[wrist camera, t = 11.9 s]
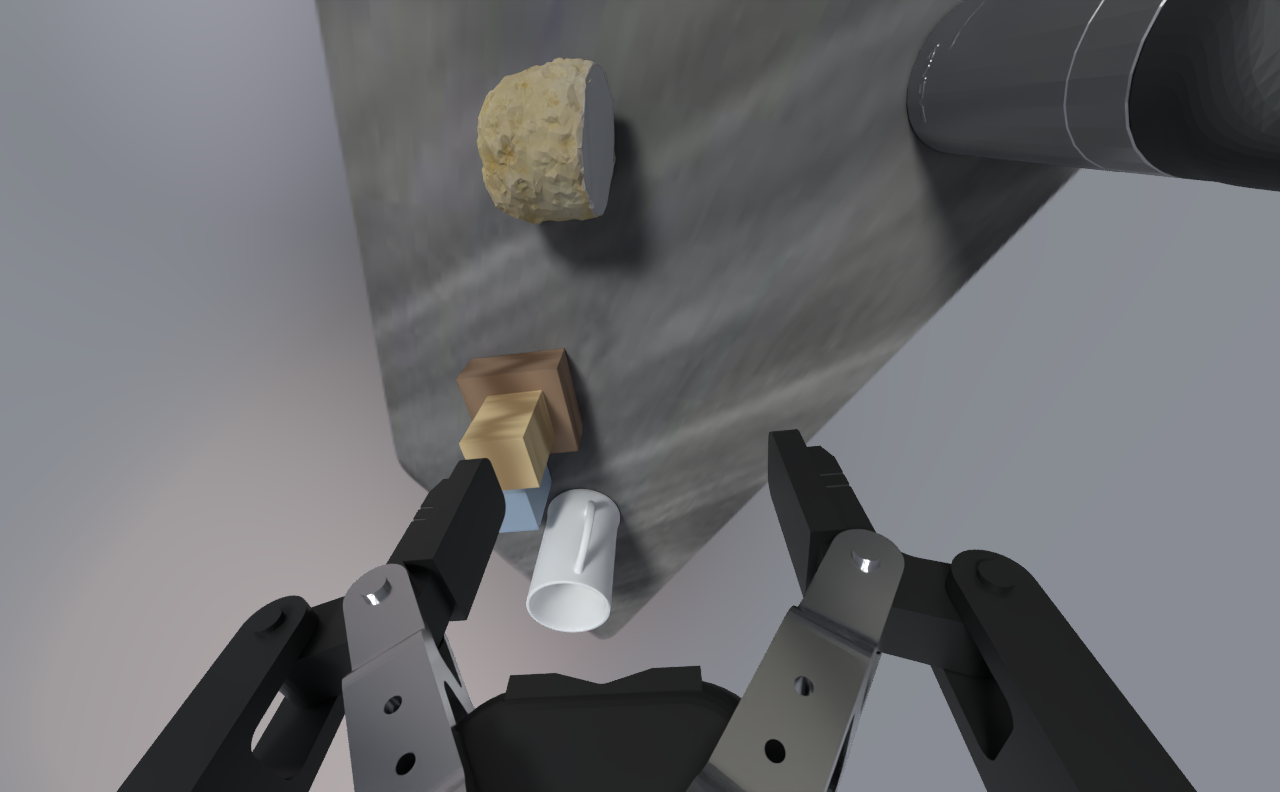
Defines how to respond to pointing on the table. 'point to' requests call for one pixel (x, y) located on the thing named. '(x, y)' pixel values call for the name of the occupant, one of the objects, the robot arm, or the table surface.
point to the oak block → (512, 438)
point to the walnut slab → (528, 388)
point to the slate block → (526, 506)
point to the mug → (575, 562)
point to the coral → (549, 142)
